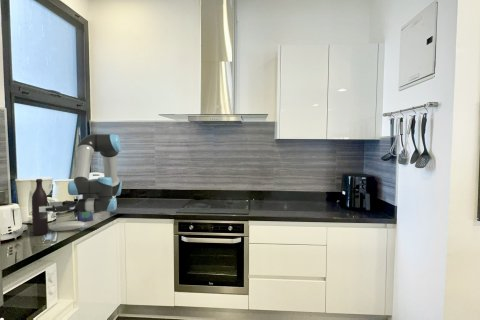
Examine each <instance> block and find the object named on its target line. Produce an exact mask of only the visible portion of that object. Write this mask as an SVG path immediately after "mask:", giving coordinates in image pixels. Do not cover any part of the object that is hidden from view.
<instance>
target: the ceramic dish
mask: <svg viewBox="0 0 480 320" xmlns="http://www.w3.org/2000/svg"><path fill="white" fill-rule="evenodd" d="M84 226H85V222H81V221H78V220H66V221H60V222H56V223H52V224H51V225H48V230H50V231H54V232H66V231H74V230H77V229H82V228H83V227H84Z"/></svg>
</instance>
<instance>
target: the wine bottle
mask: <svg viewBox="0 0 480 320" xmlns="http://www.w3.org/2000/svg"><path fill="white" fill-rule="evenodd" d="M35 183H36V184H35V185H36V186H35V190H34V192H33V193H32V196H31V218H32V220H31V221H32V223H31V224H32V235H33V236H42V235H46V234H48V233H49V224H48V223H49V221H48V220H49V217H48V216H49V214H48V212H39V207H47V206H48V195H47V193H46V191H45V189H44V188H43V179H42V178H36V180H35Z"/></svg>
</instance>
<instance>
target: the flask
mask: <svg viewBox="0 0 480 320" xmlns="http://www.w3.org/2000/svg"><path fill="white" fill-rule="evenodd" d="M76 210H77V212H76V213H77V221H81V222H84V223H87V222H92V221H94V213H92V212H87V211H86V212H79V211H78V209H76Z"/></svg>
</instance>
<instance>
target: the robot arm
mask: <svg viewBox="0 0 480 320" xmlns="http://www.w3.org/2000/svg"><path fill="white" fill-rule="evenodd" d="M76 147H77V148H76V152H77V158H76V165H75V171H74V176H73V180H72V181H69V182H68V183H67V192H68V194H69V195H70V196H81V198H79V199H78V201H76V200H64V201H49V203H48V204H49V205H47V207H39V212H49V213H50V212H52V213H61V212H70V211H72V212H73V211H74V210H77V209H78V211H79V212H86V211H87V212H92V213H93V214H95V213H100V212H101V213H102V212H113V211H116V210H117V207H118V206H117V205H118V204H117V203H118V202H117V198H116V197H117V196H121V193H122V185H123V181H122V179H120V178H119V176H118V163H117V161H118V160H117V156H118V154H119V153H120V152H121V151H122V150H121V149H122V148H121V147H122V145H121V140H120V136H119V135H118V134H112V133H110V134H106V133H105V134H103V133H101V134H100V133H91V134H88V135H86V136H84V137H83V138H82V139H81V140H80V141H79V142H78V144H77V146H76ZM94 153H99V154H100V156H102V164H103V176H100V177H98V178H92V179H91V178H90V171H91V166H92V165H91V163H92V158H93V157H92V156H93V155H94Z"/></svg>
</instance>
